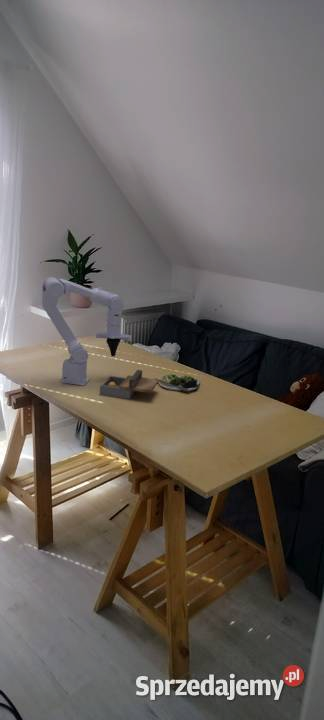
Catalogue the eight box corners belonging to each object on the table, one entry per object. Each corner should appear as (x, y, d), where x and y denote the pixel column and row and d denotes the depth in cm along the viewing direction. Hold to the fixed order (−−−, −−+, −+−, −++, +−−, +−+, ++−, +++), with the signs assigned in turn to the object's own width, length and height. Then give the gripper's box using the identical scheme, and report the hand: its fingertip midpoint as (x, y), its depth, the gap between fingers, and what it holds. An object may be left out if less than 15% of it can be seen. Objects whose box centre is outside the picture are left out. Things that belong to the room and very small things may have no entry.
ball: (107, 390, 203) (107, 382, 202) (109, 387, 206) (109, 380, 205) (114, 391, 202) (114, 384, 201) (116, 388, 205) (116, 381, 204)
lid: (119, 388, 196) (119, 378, 195) (128, 377, 208) (128, 368, 207) (151, 393, 194) (151, 383, 193) (158, 382, 206) (158, 372, 204)
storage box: (99, 394, 199) (100, 385, 198) (109, 384, 210) (109, 375, 209) (129, 399, 197) (130, 390, 196) (137, 388, 208) (138, 379, 207)
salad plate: (148, 389, 209) (149, 379, 207) (157, 375, 225) (158, 365, 224) (195, 396, 206) (196, 385, 204) (201, 381, 222) (202, 371, 221)
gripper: (94, 324, 206) (93, 356, 210) (129, 328, 204) (128, 360, 208) (98, 320, 212) (98, 351, 217) (133, 323, 210) (131, 355, 215)
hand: (113, 355), depth 213 cm, fingers closed
